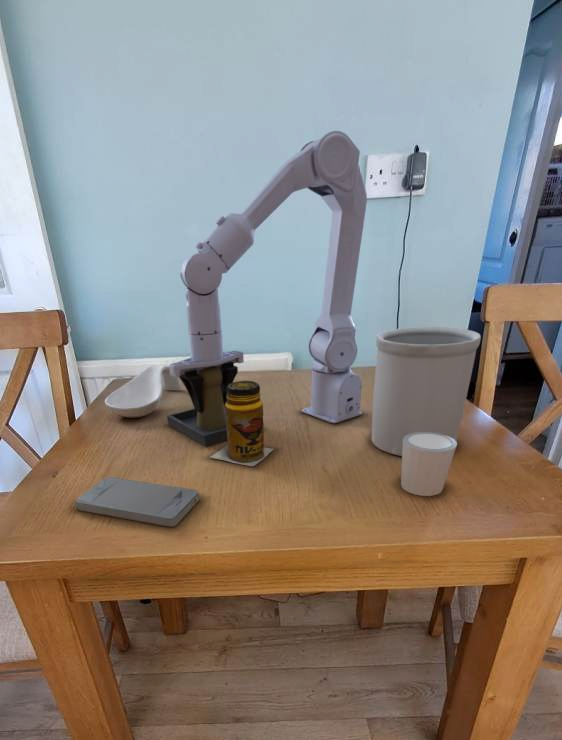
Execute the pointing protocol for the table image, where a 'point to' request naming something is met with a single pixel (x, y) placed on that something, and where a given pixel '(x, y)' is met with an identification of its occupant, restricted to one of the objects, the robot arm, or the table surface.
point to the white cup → (426, 462)
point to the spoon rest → (142, 392)
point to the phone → (138, 501)
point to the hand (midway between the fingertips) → (211, 407)
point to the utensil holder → (421, 383)
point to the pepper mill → (212, 400)
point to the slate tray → (195, 428)
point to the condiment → (244, 425)
